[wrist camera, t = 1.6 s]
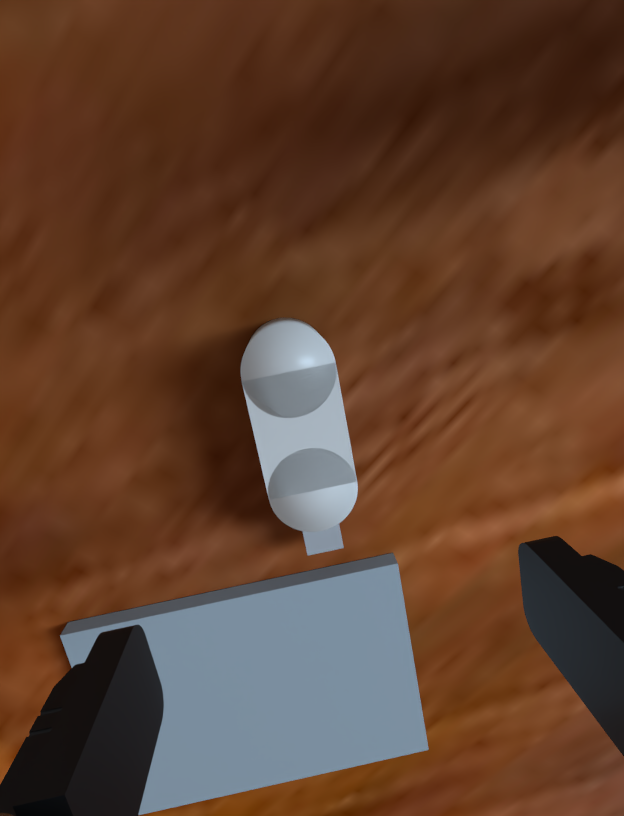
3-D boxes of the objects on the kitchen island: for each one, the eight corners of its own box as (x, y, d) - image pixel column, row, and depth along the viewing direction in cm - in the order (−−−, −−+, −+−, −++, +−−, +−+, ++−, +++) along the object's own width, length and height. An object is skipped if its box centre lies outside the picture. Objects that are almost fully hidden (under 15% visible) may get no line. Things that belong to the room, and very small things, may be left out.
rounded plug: (318, 310, 27) (326, 314, 22) (357, 520, 30) (371, 560, 26) (237, 326, 27) (230, 334, 22) (285, 535, 30) (286, 578, 25)
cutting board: (392, 552, 31) (397, 563, 29) (423, 733, 34) (428, 749, 33) (68, 622, 30) (59, 635, 29) (132, 799, 33) (127, 817, 32)
